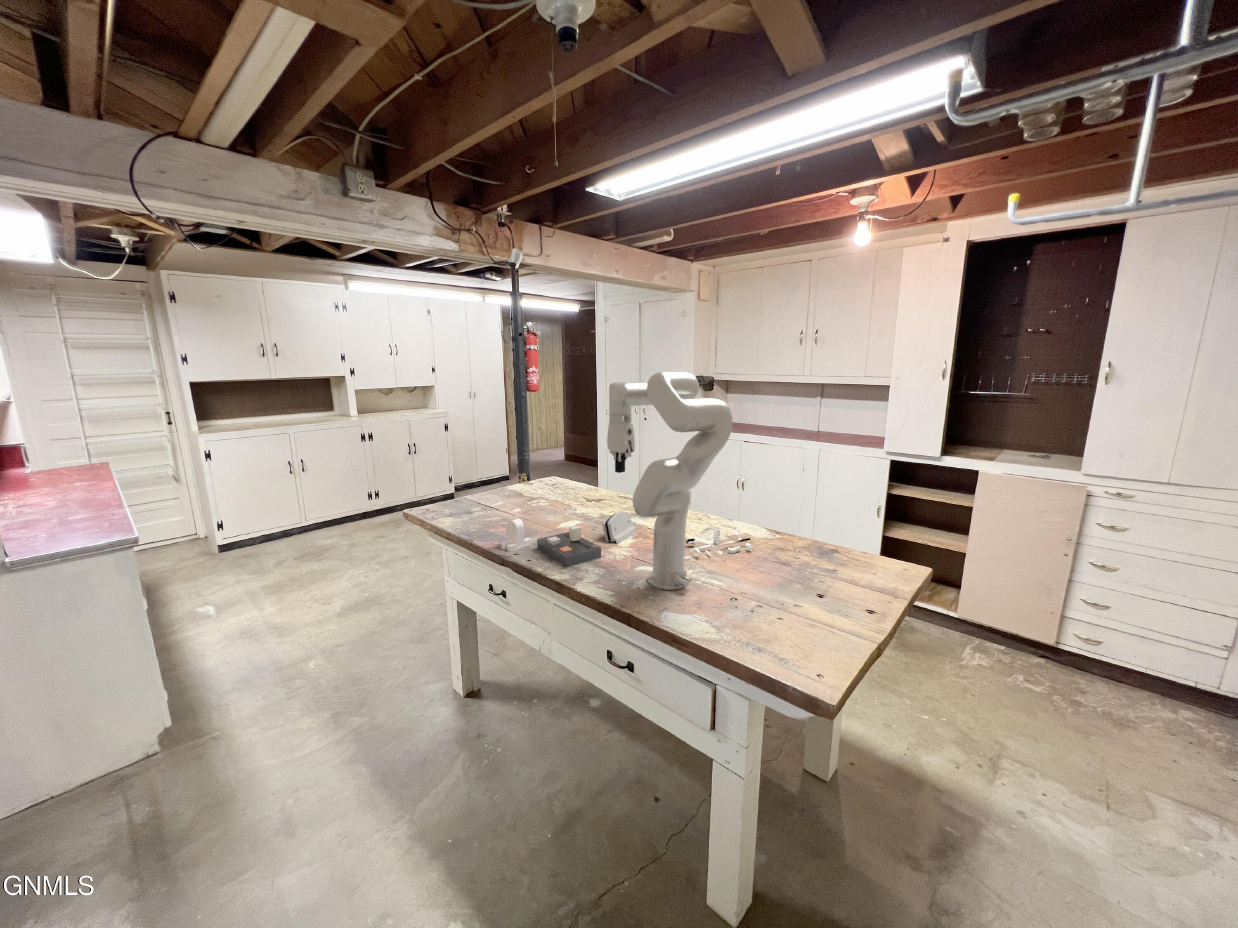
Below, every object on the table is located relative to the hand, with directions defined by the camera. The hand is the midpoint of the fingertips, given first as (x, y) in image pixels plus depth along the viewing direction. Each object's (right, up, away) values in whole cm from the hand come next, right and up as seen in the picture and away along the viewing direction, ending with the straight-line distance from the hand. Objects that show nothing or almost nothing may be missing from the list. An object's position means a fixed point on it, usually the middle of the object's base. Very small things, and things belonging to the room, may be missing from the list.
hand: (620, 471), depth 165 cm
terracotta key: (-18, -29, -3) cm, 34 cm away
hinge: (0, -25, +19) cm, 32 cm away
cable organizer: (-38, -27, +9) cm, 48 cm away
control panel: (-18, -29, +3) cm, 34 cm away
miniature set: (+32, -29, +6) cm, 44 cm away
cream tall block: (-16, -24, +5) cm, 29 cm away
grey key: (-23, -26, +3) cm, 35 cm away
